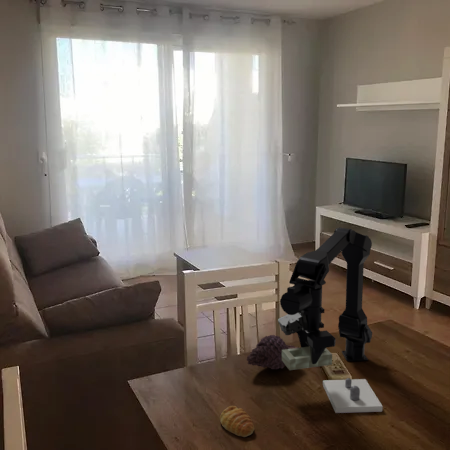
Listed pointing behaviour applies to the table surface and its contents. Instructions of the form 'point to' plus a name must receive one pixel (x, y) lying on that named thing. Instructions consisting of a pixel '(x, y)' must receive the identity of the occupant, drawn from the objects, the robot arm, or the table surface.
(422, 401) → the table surface
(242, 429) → the pastry
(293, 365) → the bar
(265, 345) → the pine cone
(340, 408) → the post board
